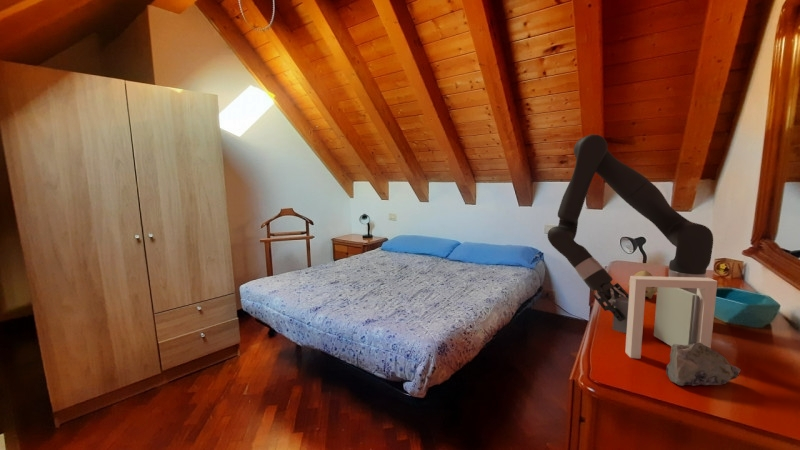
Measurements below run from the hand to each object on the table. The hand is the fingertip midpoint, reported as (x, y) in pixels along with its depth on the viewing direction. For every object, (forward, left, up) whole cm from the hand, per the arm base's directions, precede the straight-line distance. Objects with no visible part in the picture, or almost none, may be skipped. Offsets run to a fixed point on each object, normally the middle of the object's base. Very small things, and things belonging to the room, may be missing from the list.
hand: (629, 316), depth 104 cm
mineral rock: (-3, +27, -5) cm, 28 cm away
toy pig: (-20, -33, -5) cm, 39 cm away
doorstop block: (+1, -1, -5) cm, 5 cm away
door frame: (-2, +16, -5) cm, 16 cm away
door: (-8, +10, -4) cm, 13 cm away
